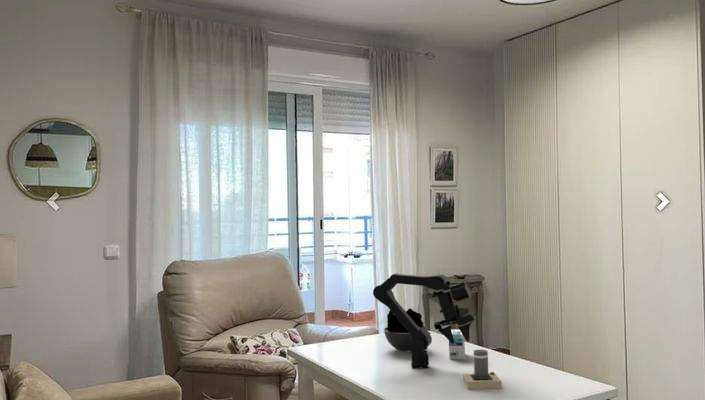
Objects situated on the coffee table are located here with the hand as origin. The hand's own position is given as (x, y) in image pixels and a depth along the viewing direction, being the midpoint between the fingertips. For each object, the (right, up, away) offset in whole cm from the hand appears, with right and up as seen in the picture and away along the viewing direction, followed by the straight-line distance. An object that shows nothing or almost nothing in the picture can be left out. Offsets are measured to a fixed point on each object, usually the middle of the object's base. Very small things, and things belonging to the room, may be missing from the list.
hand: (460, 342), depth 222 cm
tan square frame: (+4, -10, -19) cm, 22 cm away
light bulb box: (+2, -12, +20) cm, 23 cm away
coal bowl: (-19, -12, +32) cm, 39 cm away
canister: (+4, -10, -19) cm, 22 cm away
